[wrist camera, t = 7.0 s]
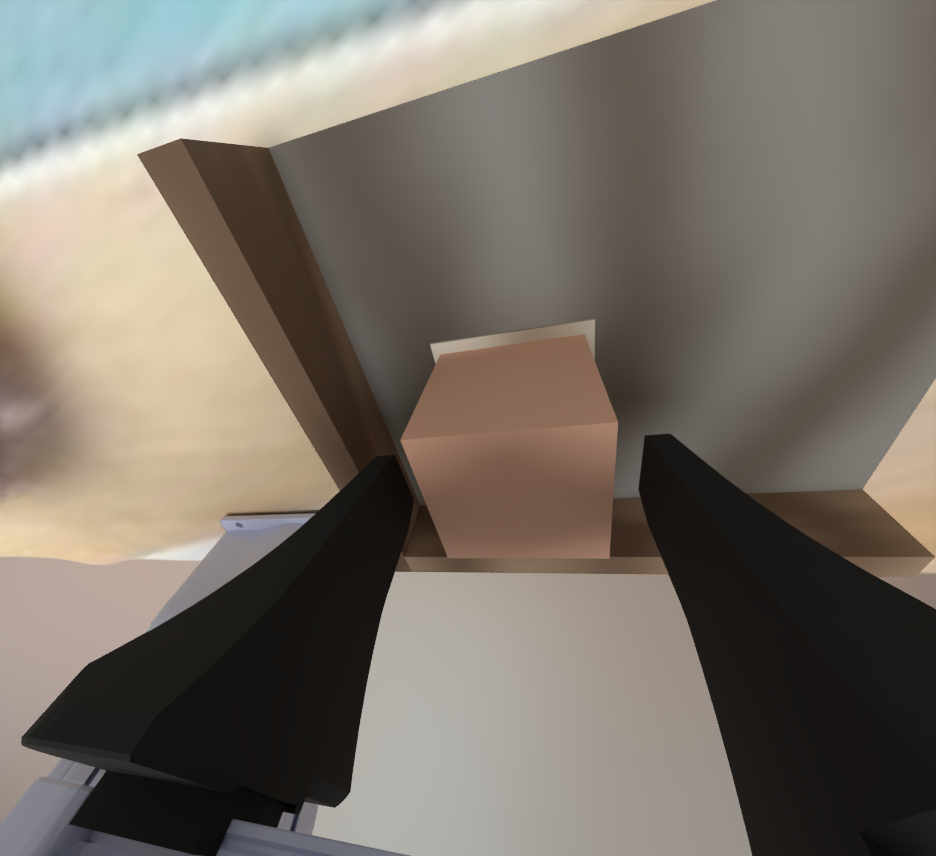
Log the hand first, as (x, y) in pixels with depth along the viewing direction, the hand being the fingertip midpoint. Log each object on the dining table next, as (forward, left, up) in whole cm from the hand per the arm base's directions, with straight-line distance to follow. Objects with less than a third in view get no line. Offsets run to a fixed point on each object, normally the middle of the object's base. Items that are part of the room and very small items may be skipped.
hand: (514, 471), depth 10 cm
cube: (0, 0, -4) cm, 4 cm away
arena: (+3, +1, -5) cm, 6 cm away
